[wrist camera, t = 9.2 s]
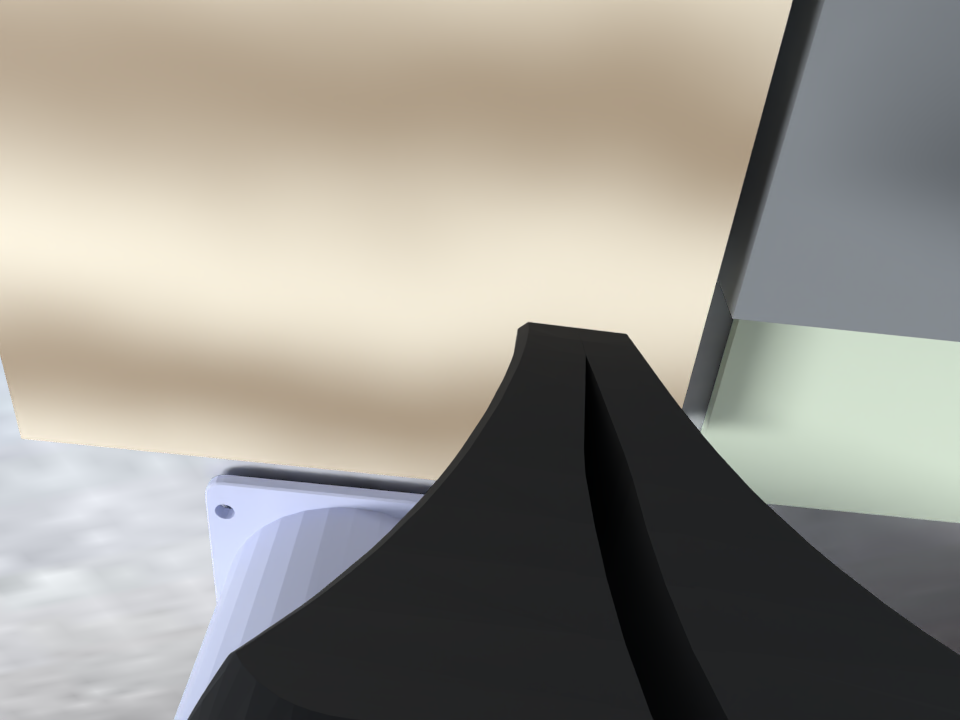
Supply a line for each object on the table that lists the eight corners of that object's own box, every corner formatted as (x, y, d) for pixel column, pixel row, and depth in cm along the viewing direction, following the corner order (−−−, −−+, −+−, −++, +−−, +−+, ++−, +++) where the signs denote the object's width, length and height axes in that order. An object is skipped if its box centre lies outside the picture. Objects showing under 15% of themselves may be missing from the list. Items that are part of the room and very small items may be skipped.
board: (642, 419, 22) (656, 502, 20) (78, 362, 22) (21, 438, 20) (847, -430, 13) (920, -472, 11) (-95, -535, 13) (-241, -602, 11)
